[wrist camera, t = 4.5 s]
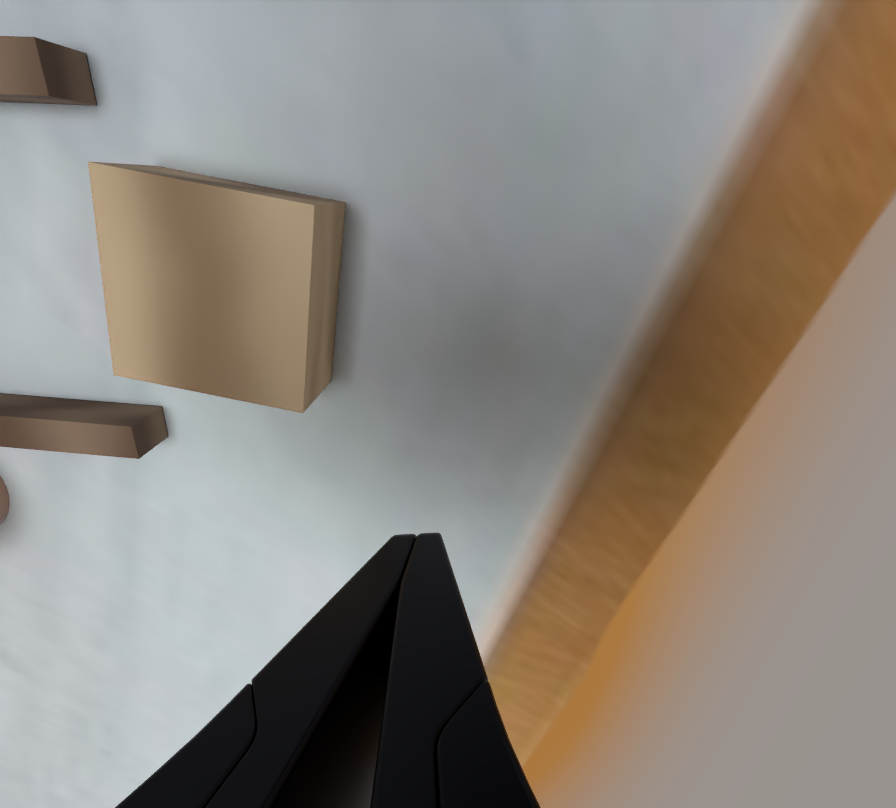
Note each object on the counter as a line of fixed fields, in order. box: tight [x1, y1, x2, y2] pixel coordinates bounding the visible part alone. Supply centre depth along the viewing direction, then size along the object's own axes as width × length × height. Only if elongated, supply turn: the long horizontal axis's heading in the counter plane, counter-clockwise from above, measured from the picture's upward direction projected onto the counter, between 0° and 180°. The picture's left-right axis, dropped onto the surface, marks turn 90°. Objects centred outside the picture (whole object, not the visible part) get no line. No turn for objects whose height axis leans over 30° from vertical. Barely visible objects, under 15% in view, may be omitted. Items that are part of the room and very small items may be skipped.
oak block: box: [88, 162, 345, 413], centre depth 18 cm, size 7×7×4 cm
